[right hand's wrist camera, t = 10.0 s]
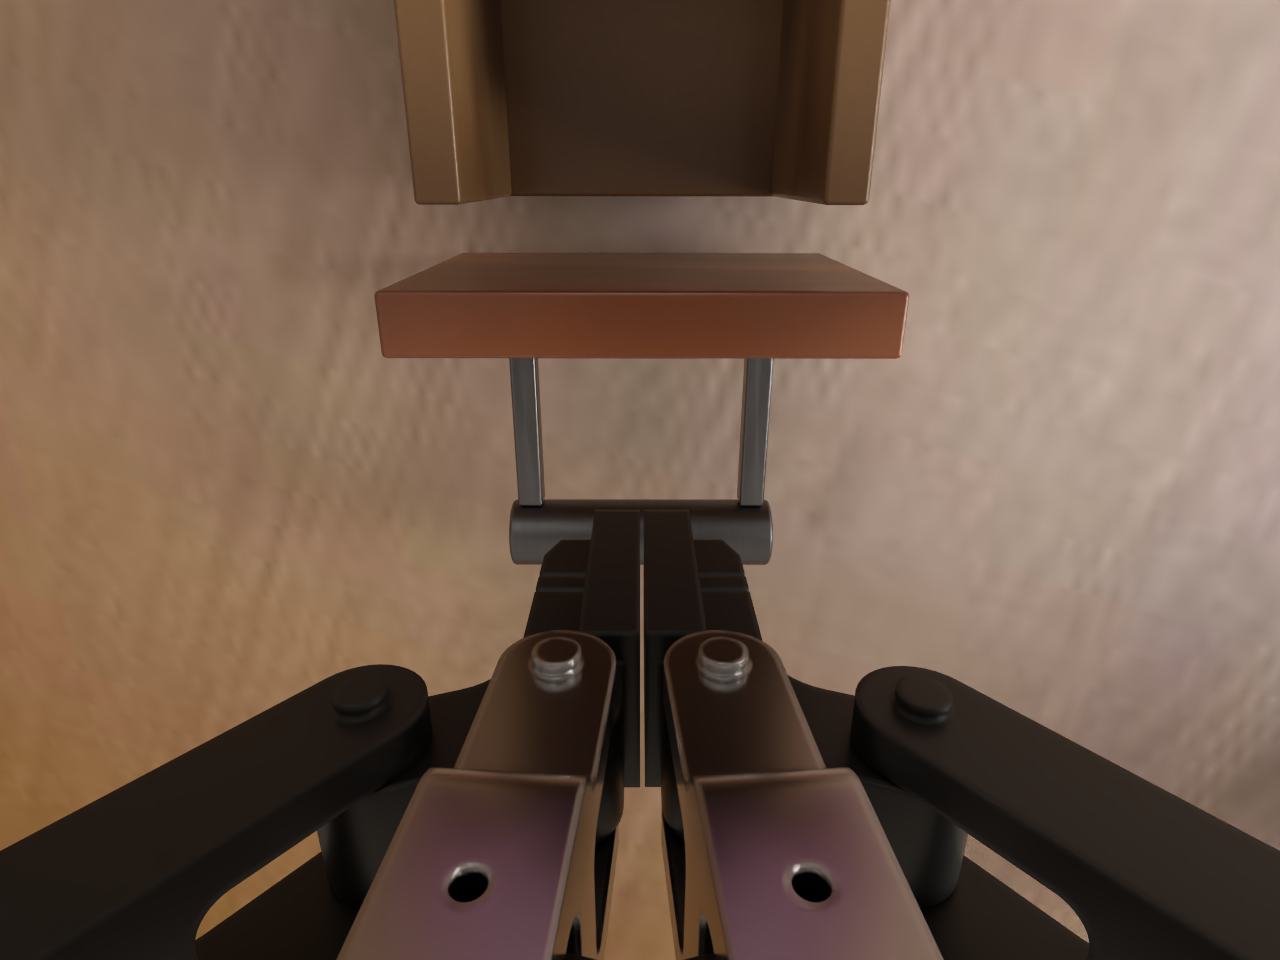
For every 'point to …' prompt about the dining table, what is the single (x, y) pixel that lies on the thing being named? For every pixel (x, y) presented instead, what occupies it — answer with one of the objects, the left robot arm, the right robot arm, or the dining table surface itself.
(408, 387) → the dining table surface
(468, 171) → the drawer
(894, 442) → the dining table surface
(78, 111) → the dining table surface
